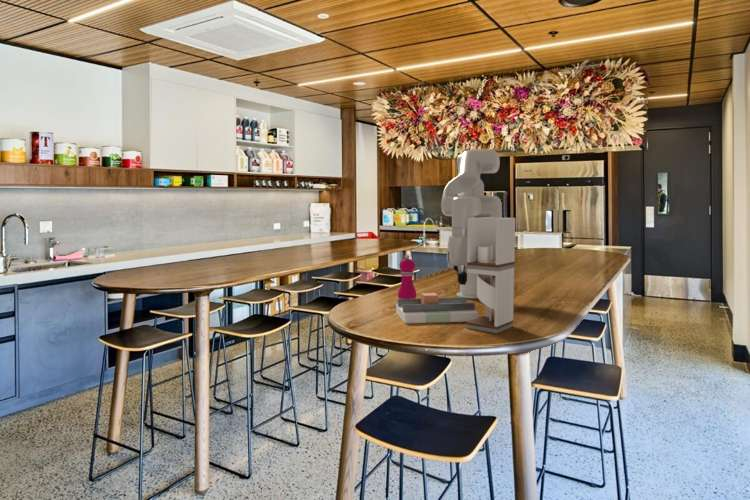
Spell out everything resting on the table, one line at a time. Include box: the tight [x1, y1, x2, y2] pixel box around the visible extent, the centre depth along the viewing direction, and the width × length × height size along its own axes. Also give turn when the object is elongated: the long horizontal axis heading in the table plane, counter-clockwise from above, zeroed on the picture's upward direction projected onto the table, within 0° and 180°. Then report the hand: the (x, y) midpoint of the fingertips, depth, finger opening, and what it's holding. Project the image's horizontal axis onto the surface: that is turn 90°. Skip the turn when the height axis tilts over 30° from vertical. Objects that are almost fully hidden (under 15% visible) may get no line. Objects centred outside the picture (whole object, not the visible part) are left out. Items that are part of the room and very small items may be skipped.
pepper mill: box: [397, 254, 417, 299], centre depth 204 cm, size 7×7×20 cm
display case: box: [465, 217, 516, 334], centre depth 169 cm, size 11×11×35 cm
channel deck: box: [395, 303, 479, 324], centre depth 186 cm, size 25×18×3 cm
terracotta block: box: [420, 292, 439, 304], centre depth 185 cm, size 5×5×5 cm
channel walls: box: [397, 296, 476, 312], centre depth 186 cm, size 25×11×2 cm, turn 97°
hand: (462, 283), depth 188 cm, fingers closed
